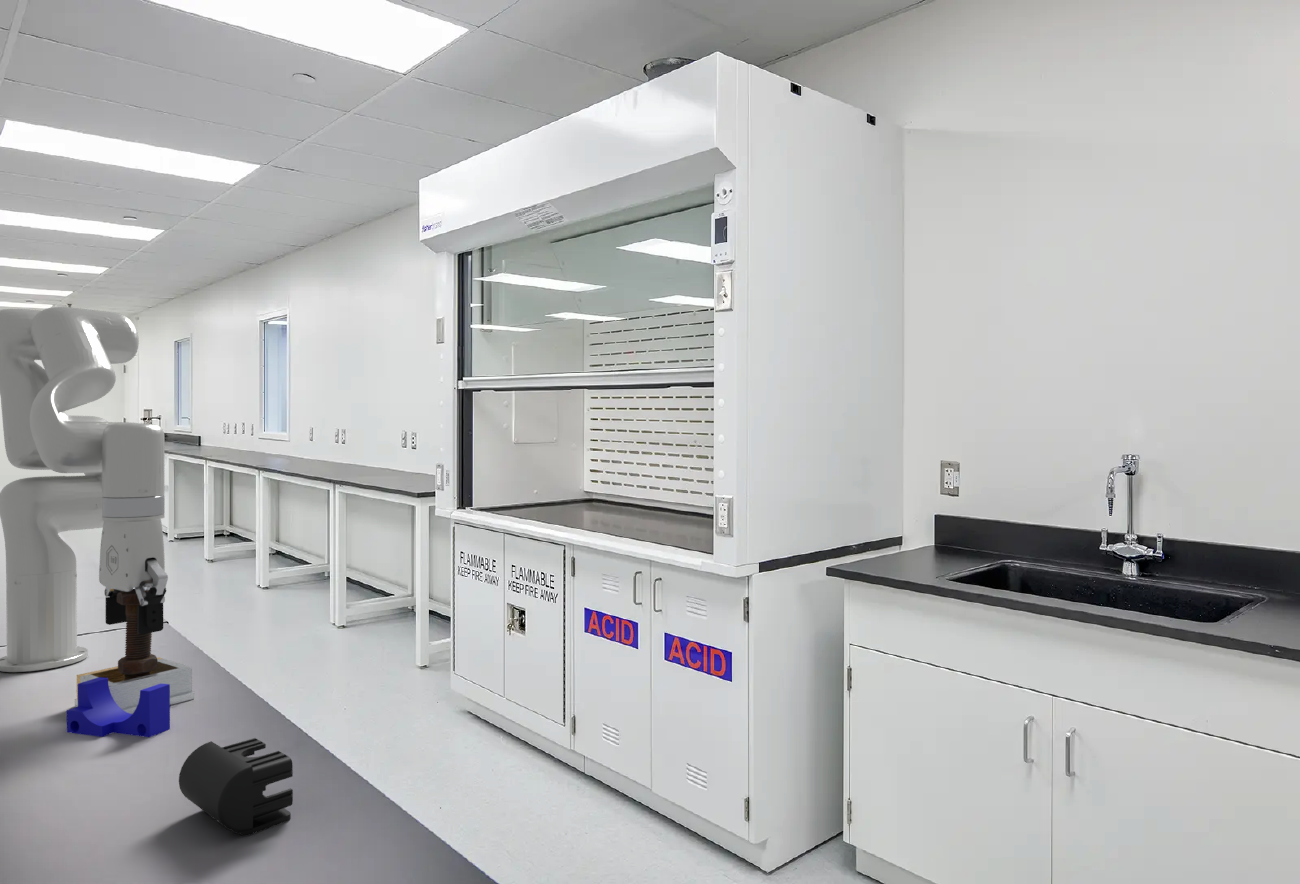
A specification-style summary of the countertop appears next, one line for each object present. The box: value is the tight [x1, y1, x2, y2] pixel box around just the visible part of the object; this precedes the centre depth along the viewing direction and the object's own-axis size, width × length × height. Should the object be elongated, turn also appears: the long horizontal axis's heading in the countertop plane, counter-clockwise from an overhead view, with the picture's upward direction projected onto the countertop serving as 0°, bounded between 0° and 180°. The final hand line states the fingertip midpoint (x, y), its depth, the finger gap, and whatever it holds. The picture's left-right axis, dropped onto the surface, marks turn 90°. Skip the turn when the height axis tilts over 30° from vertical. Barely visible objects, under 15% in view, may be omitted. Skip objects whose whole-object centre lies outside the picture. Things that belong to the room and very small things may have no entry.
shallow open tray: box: [74, 657, 195, 714], centre depth 114 cm, size 11×11×4 cm
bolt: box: [117, 588, 158, 681], centre depth 114 cm, size 6×5×15 cm
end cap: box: [178, 737, 294, 837], centre depth 79 cm, size 10×7×7 cm
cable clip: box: [66, 677, 171, 738], centre depth 103 cm, size 12×4×6 cm, turn 74°
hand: (134, 627), depth 114 cm, fingers open, 9 cm apart
